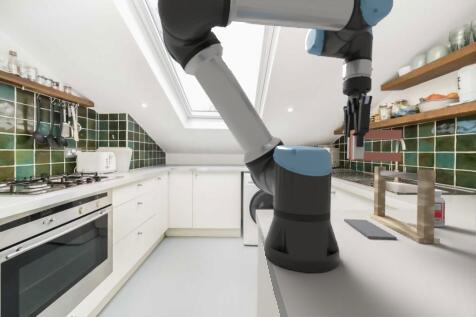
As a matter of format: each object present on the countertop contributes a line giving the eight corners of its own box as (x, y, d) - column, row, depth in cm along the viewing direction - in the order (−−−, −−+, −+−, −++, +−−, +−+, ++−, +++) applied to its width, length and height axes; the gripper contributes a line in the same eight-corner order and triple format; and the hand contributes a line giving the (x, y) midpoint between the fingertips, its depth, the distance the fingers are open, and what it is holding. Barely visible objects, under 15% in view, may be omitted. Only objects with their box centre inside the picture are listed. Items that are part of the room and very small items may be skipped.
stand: (418, 242, 55) (419, 170, 55) (370, 217, 78) (370, 166, 78) (439, 243, 54) (440, 170, 54) (384, 217, 78) (385, 166, 78)
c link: (353, 160, 64) (354, 129, 64) (349, 160, 67) (350, 130, 67) (401, 161, 63) (401, 129, 63) (394, 161, 66) (395, 131, 66)
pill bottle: (428, 221, 74) (429, 188, 74) (450, 227, 68) (450, 191, 68) (414, 222, 73) (414, 188, 73) (434, 228, 67) (434, 191, 67)
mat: (368, 238, 57) (368, 236, 57) (344, 220, 73) (344, 219, 73) (396, 239, 57) (396, 237, 57) (366, 221, 73) (366, 219, 73)
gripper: (386, 68, 57) (384, 159, 57) (357, 88, 73) (355, 159, 73) (356, 68, 58) (354, 158, 58) (334, 88, 74) (332, 158, 74)
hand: (355, 158), depth 66 cm, fingers closed on c link, 3 cm apart
